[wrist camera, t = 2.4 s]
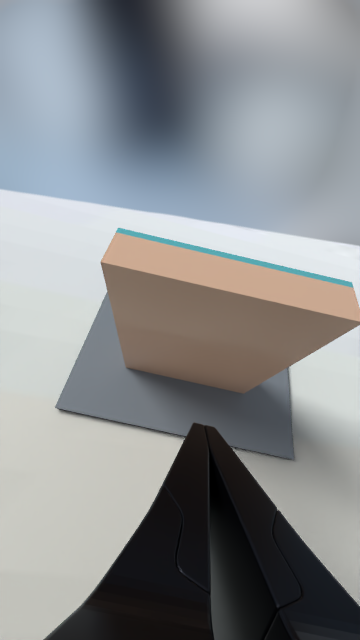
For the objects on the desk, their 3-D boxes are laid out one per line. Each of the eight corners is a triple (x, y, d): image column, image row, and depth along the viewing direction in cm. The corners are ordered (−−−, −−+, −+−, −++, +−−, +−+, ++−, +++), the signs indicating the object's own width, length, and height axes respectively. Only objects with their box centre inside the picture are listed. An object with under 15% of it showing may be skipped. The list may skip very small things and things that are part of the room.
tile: (243, 393, 19) (363, 322, 8) (125, 367, 18) (100, 261, 8) (244, 370, 20) (351, 282, 9) (132, 345, 19) (118, 227, 9)
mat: (291, 459, 17) (294, 459, 17) (56, 408, 17) (54, 407, 16) (279, 281, 26) (281, 279, 26) (129, 246, 26) (128, 244, 26)
